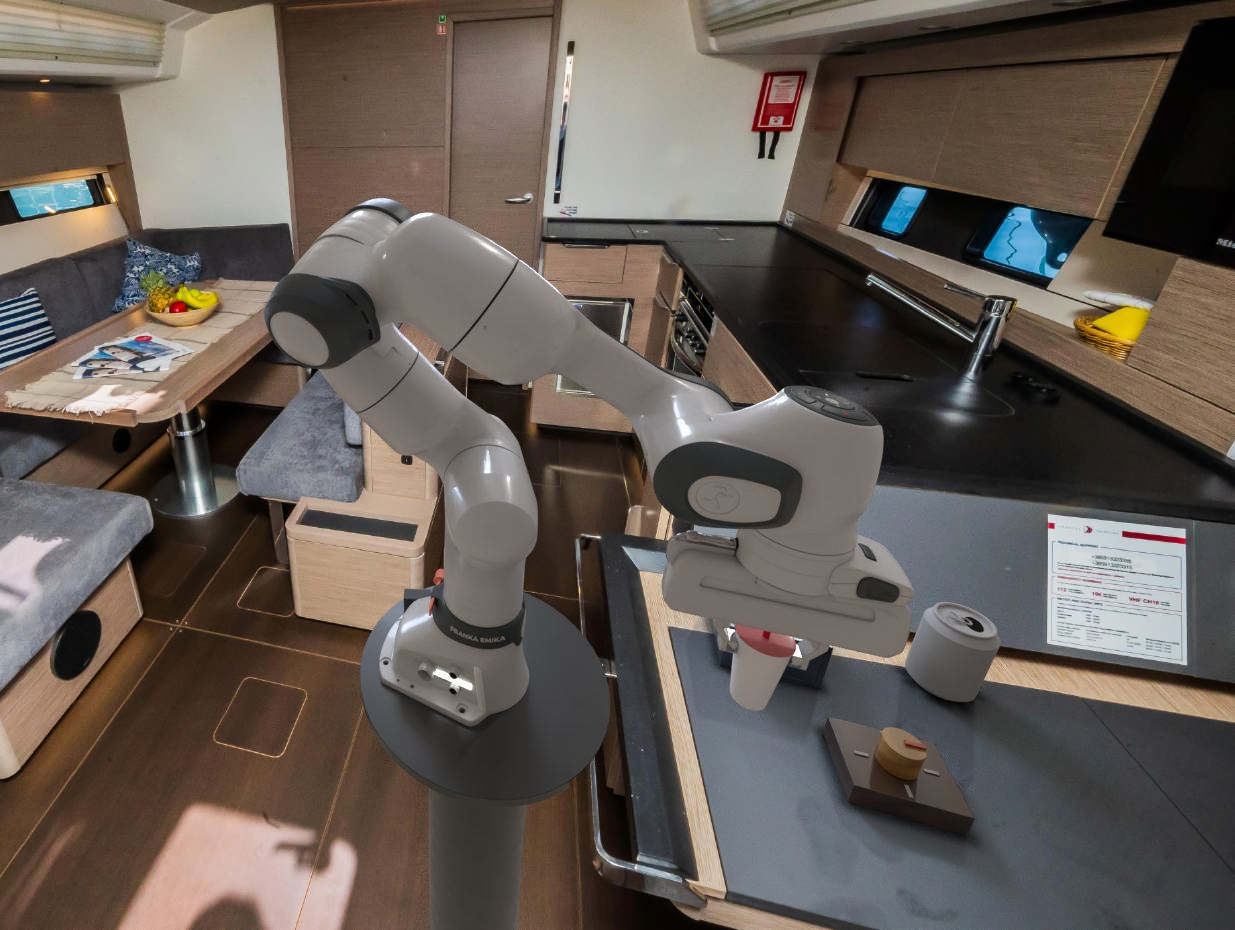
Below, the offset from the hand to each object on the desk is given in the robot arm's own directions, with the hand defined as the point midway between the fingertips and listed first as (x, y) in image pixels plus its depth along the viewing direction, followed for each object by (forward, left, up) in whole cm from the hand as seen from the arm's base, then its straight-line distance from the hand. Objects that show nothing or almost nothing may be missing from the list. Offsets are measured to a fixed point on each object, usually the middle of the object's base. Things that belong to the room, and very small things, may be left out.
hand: (760, 655), depth 60 cm
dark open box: (+9, +27, -24) cm, 37 cm away
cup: (0, 0, -6) cm, 6 cm away
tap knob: (+19, +9, -20) cm, 30 cm away
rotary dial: (+19, +9, -24) cm, 32 cm away
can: (+31, +27, -24) cm, 48 cm away
